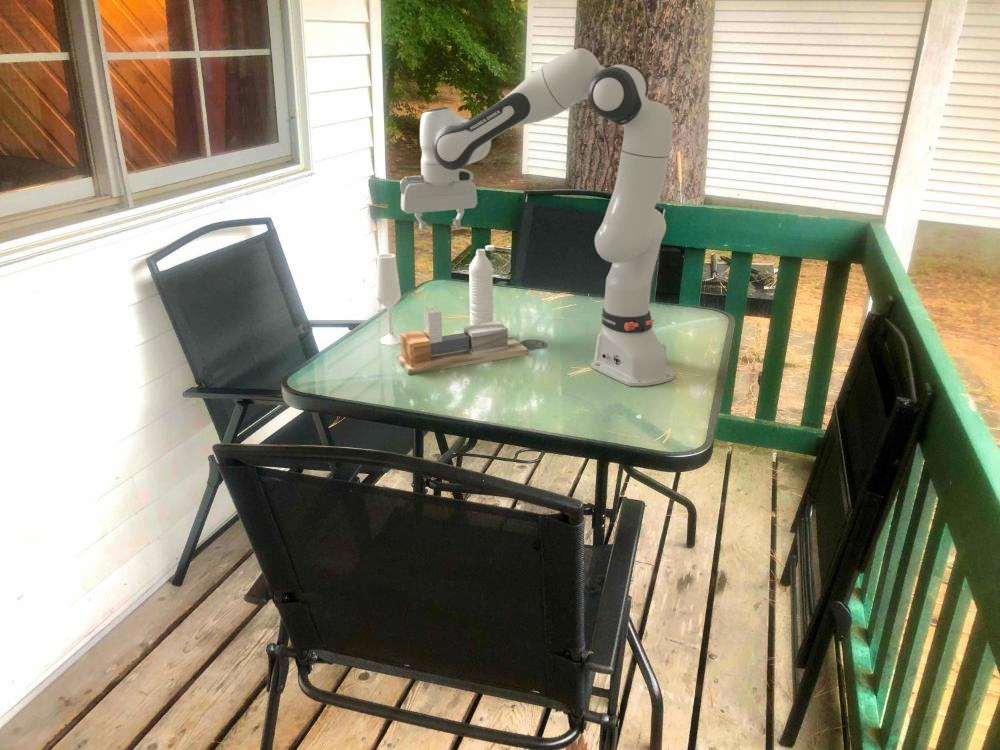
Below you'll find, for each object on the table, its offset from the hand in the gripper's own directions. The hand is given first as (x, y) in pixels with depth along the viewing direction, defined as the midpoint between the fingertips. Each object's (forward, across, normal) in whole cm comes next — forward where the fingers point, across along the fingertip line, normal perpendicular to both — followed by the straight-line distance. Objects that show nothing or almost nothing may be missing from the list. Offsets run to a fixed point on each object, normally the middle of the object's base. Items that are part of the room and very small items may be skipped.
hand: (440, 227), depth 203 cm
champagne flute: (+31, -14, +4) cm, 34 cm away
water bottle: (+31, +11, -3) cm, 33 cm away
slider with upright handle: (+28, -3, -16) cm, 33 cm away
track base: (+31, 0, -16) cm, 35 cm away
